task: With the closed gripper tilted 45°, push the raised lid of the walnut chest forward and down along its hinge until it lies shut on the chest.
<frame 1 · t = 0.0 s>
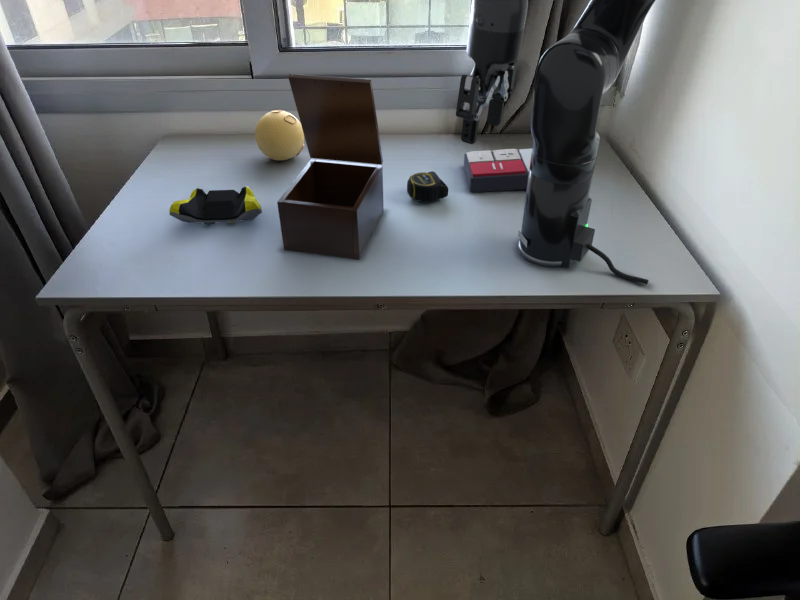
hand: (481, 132, 95), 17 cm above the table, tool pointing down, fingers open, 8 cm apart
tape measure: (428, 196, 116), on the table
chest: (336, 230, 106), on the table
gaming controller: (222, 220, 109), on the table
stress ball: (282, 159, 129), on the table
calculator: (504, 179, 121), on the table
lid: (338, 121, 99), point 17 cm above the table, hinge at 70.0°
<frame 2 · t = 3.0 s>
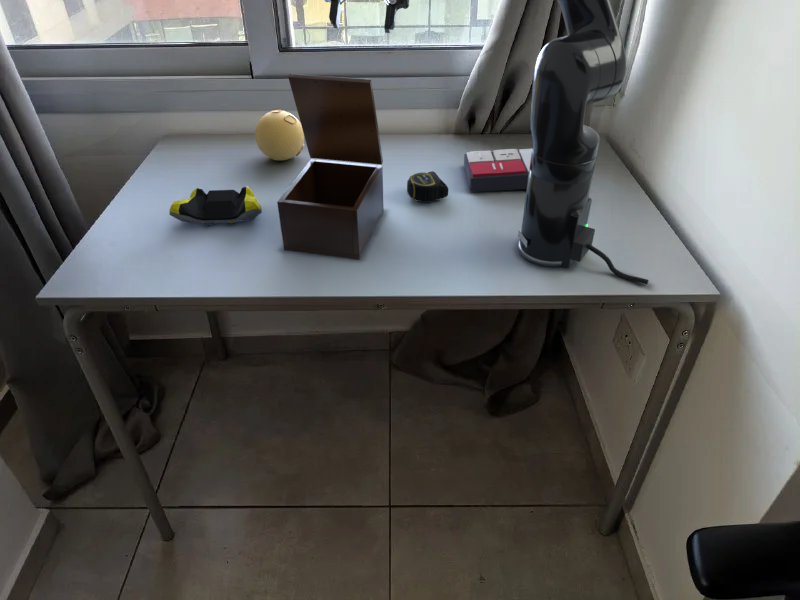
hand: (361, 28, 100), 29 cm above the table, tool tilted 40°, fingers open, 8 cm apart
nothing on the table moved.
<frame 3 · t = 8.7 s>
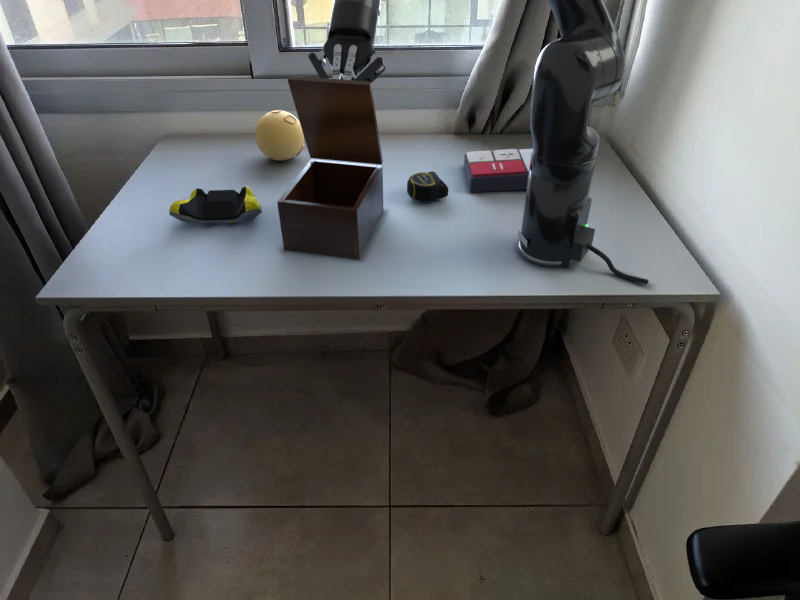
hand: (337, 113, 98), 18 cm above the table, tool tilted 45°, fingers closed
lid: (338, 122, 99), point 17 cm above the table, hinge at 68.3°, touching gripper
everything else where it was.
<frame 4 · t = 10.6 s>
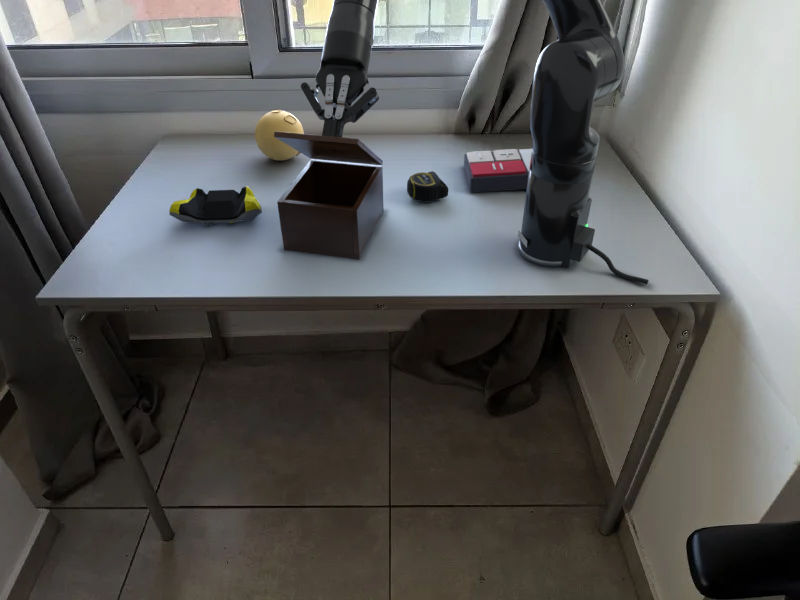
hand: (330, 144, 97), 15 cm above the table, tool tilted 45°, fingers closed
lid: (332, 149, 98), point 14 cm above the table, hinge at 35.0°, touching gripper
everything else where it was.
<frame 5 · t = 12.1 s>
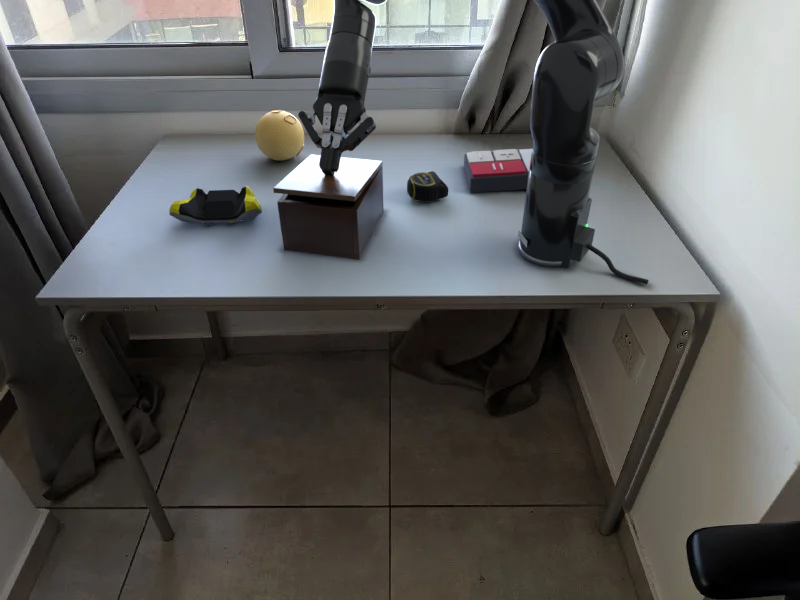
hand: (327, 173, 98), 11 cm above the table, tool tilted 45°, fingers closed
lid: (331, 176, 99), point 10 cm above the table, hinge at 6.3°, touching gripper
everything else where it was.
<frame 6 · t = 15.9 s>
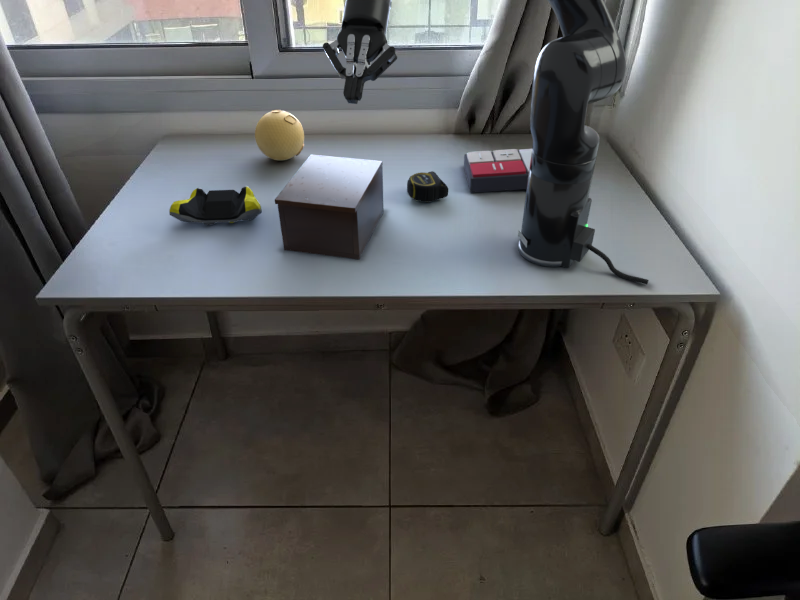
hand: (351, 101, 102), 19 cm above the table, tool tilted 45°, fingers closed
lid: (331, 181, 100), point 9 cm above the table, hinge at -0.2°, touching chest
everything else where it was.
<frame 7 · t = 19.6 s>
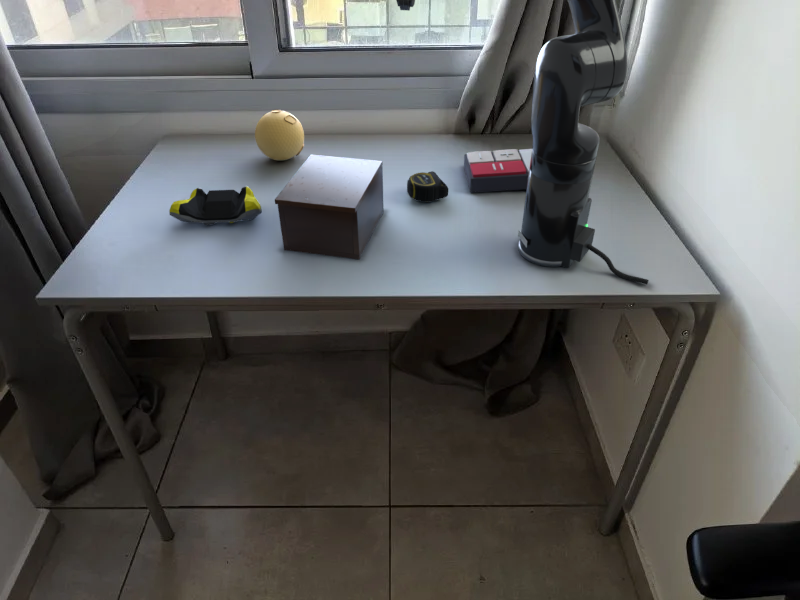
hand: (404, 7, 98), 32 cm above the table, tool tilted 45°, fingers closed
nothing on the table moved.
at the end: lid at +0° (first picture: +70°); tape measure moved 0.2 cm from its start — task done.
